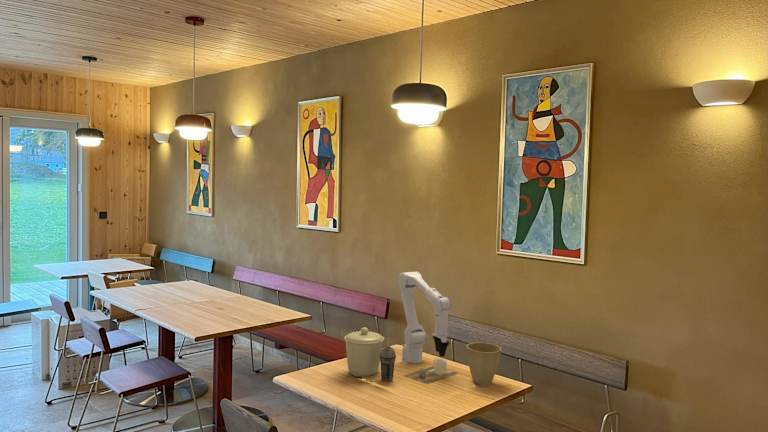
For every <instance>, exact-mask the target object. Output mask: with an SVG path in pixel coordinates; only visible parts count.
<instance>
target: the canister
mask: <svg viewBox="0 0 768 432" xmlns="http://www.w3.org/2000/svg"><path fill="white" fill-rule="evenodd" d="M343 339H344V341H345V350H346V351H345V352H346V360H347V361H346V362H347V363H346V364H347V369H348V372H349V374H350V375H352V376H354V377H359V378H361V377H364V376H365V377H368V376H373V375H377V373H379V370H380V369H379V368H380V365H381V362H380V357H379V355H380V352H381V350H382V349H383V342H384V340H385V337H384V336H383V335H381V334H380V333H377V332H374V331H370V330H369V329H368V328H367V327H365V326H364V327H362V328H360V331H352V332H350V333H348V334H346V335H345V336H344V337H343Z"/></svg>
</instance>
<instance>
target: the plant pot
mask: <svg viewBox="0 0 768 432" xmlns="http://www.w3.org/2000/svg"><path fill="white" fill-rule="evenodd" d="M501 353H502V347H500V346H499V345H497V344H493V343H490V342H488V343H487V342H471V343H468V344H466V354H467V361H468V366H469V371H470V374H471V378H472V380H473V382H475V383H474V384H475V385H476V386H479V387H480V386H481V387H488V386H491V384H492V382H493V380H494V378H495V375H496V373H497V369H498V366H499V363H500V359H501Z"/></svg>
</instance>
